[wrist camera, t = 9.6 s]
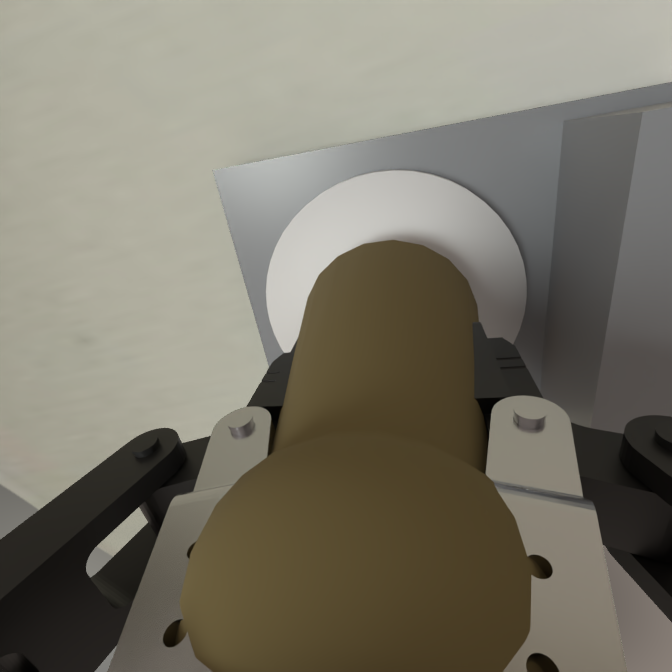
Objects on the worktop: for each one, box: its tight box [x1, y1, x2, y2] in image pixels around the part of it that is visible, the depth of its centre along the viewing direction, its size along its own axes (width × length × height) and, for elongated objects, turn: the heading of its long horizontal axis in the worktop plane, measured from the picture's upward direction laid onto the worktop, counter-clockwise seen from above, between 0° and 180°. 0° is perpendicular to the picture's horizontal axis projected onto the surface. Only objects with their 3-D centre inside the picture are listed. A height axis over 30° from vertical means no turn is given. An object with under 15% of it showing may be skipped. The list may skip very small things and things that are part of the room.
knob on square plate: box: [212, 82, 672, 434], centre depth 14 cm, size 16×12×7 cm
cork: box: [175, 240, 548, 672], centre depth 8 cm, size 6×6×11 cm
